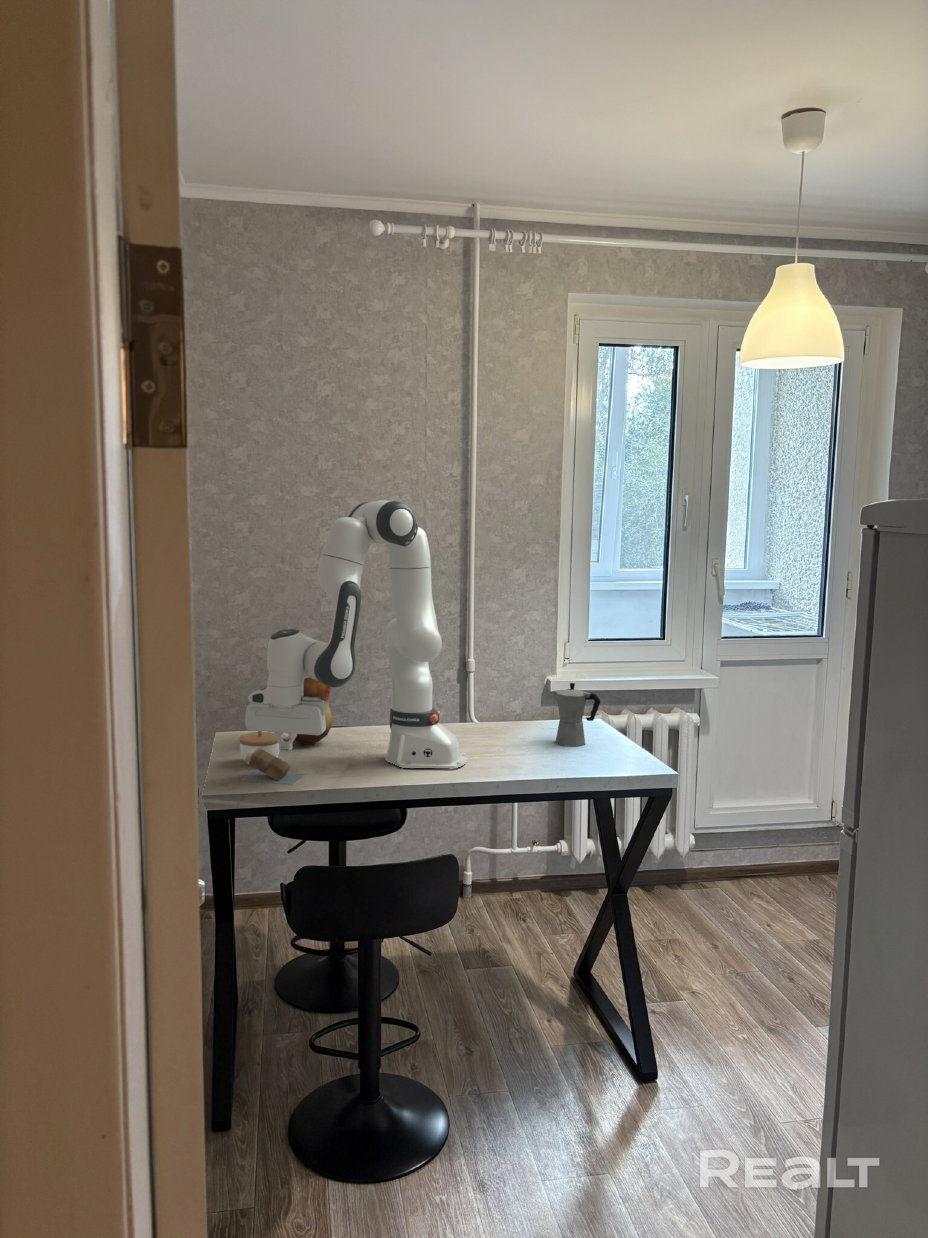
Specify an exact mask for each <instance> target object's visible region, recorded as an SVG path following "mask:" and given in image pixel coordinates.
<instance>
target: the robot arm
mask: <svg viewBox="0 0 928 1238" xmlns="http://www.w3.org/2000/svg"><path fill="white" fill-rule="evenodd" d="M428 541H429V539H428V537H427V533H426V532H425V530H424V529H423V528H421V527H420V526H419V525H418V523H417V519H416V516H415V514H414V512H413V510H412V509H411V507H410V506H408V504H405V503H403V502H401V501H397V500H387V499H386V500H384V499H382V500H381V499H380V500H379V499H378V500H376V501H375V500H374V501H365V502H361V503H359V504H357V505H356V506H355V507H354V508H353V509H352V510H351V511H350V513H349V515H348V516H345V517H340V518H338V519H335V521H334V522H333V523H332V524H331V527H330V529H329V531H328V534H327V536H326V538H325V542H324V544H323V548H322V550H321V554H320V558H319V562H318V568H317V581H318V583H319V585H320V587H321V588H322V590H323V591H324V593H326V594H327V595H328V597H329V598H330V600H331V603H332V605H333V606H332V607H333V615H332V616H333V617H332V622H331V627H330V628H331V629H330V634H329V635H330V636H329V639H328V642H324V641H322V640H321V641H320V640H318V639H315V638H313V637H310V636H307V635H306V634H304V633H302V632H301V630H299V629H296V628H292V629H291V628H290V629H283V630H279V631H278V630H277V631H275V632H274V633H273V634H271V636H270V637H269V640H268V646H267V654H266V655H267V657H266V658H267V660H266V665H267V666H266V667H267V671H268V679H267V682H266V685H267V687H264V688H261V689H258V690H254V691H253V692H251V693H250V694H249V695H248V698H247V699H248V700H247V701H248V702H249V703H248V704H247V706H246V709H245V716H244V718H245V719H244V724H245V727H246V729H247V730H248V731H253V732H254V731H256V732H258V731H262V732H271V733H274V736H275V738H276V740H277V742H278V743H279V750H280V751H292V750H293V742H294V741H295V740H294V739H295V738H296V736H297V734H307V735H320V734H322V733H323V732H324V731H325V730H326V721H325V702H324V701H323V700H321V699H320V698H318V697H305V696H303V681H304V679H305V678H309V677H310V678H312V679H314V680H317V681H320V682H321V683H323V684H325V685H327V686H329V687H331V688H339V687H343V686H345V685H346V684H347V683H348V682H349V681H350V680H351V679H352V677H353V675H354V674H355V670H356V655H355V652H356V651H355V645H356V639H357V632H358V631H357V630H358V625H359V618H360V612H361V611H360V610H361V605H362V604H361V603H362V594H361V593H362V592H361V583H362V581H361V580H362V579H361V578H362V575H363V569H364V565H365V563H366V557H367V556H366V555H367V552H368V550H369V549H370V547H371V546H372V544H385V545H386V548H387V550H388V555H389V560H388V561H389V564H388V565H389V585H390V586H389V587H390V599H391V601H392V605H393V610H394V615H395V617H394V618H393V619H391V620H390V621H389V622H388V624H387V625H386V627H385V631H384V634H385V639H386V640H385V641H386V646H387V654H388V655H387V656H388V663H389V669H390V677H391V708H390V709H389V710H390V711H389V729H390V734H389V741H388V747H387V750H386V751H387V752H386V754H385V757H384V759H385V761H386V762H387V763H389V762H390V763H389V764H392V763H393V764H392V765H394V764H395V766H396V765H397V766H396V767H398V766H399V767H402V768H401V769H403V768H458V767H460V766H462V765H464V764H465V763H466V762H467V763H468V761H469V759H468V754H466V753H465V752H461V750H460V748H461V746H460V743H459V739H458V737H457V735H455V734H454V733H453V732H452V731H450V730H449V729H448V728H446V726H444V725H443V724H442V723H440V715H441V710H438V711H437V710H436V709H434V708H433V678H432V677H433V676H432V674H431V671H430V665H429V662H432V661H433V660H435V659H436V658H437V657H438V656H439V654H440V653H441V651H442V647H443V641H442V636H441V634H440V632H439V628H438V620H437V615H436V610H435V605H434V600H433V591H432V590H433V589H432V587H433V586H432V585H433V584H432V565H431V564H432V563H431V562H432V561H431V553H430V552H431V551H430V546H429V542H428ZM320 701H321V702H320ZM283 734H288V736H287V737H288V738H289V740H288V741H284V739H283V737H282V736H283ZM467 760H468V761H467ZM467 763H466V764H467ZM466 764H465V765H466ZM465 765H464V766H465ZM399 767H398V768H399ZM458 769H459V768H458Z"/></svg>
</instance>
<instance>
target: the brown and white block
mask: <svg viewBox="0 0 928 1238" xmlns="http://www.w3.org/2000/svg"><path fill="white" fill-rule="evenodd" d="M243 762H244V763H245V764H246V765H248V764H249V765H248V766H250V767H252V768H254V769H256V770H258V771H261V772H263V773H265V774H267V775H269V776H270V777H272V778H274V779H276V780H278V781H279V780H280V779H282V778H283V777H284V776H286V775H287V773H289V771H290V770H289V769H290V768H291V766H292V765H291V764H289V763H288V762H286V761H284V760H282V759H280V758H279V757H278V758H277V757H275V756H273V755H271V754H270V753H268V752H266V751H264V750H262V749H260V748H258V747H256V748H254V749H252V750H251V751H249V752H248V754H247V757H246V759H245V761H244V760H243Z"/></svg>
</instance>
